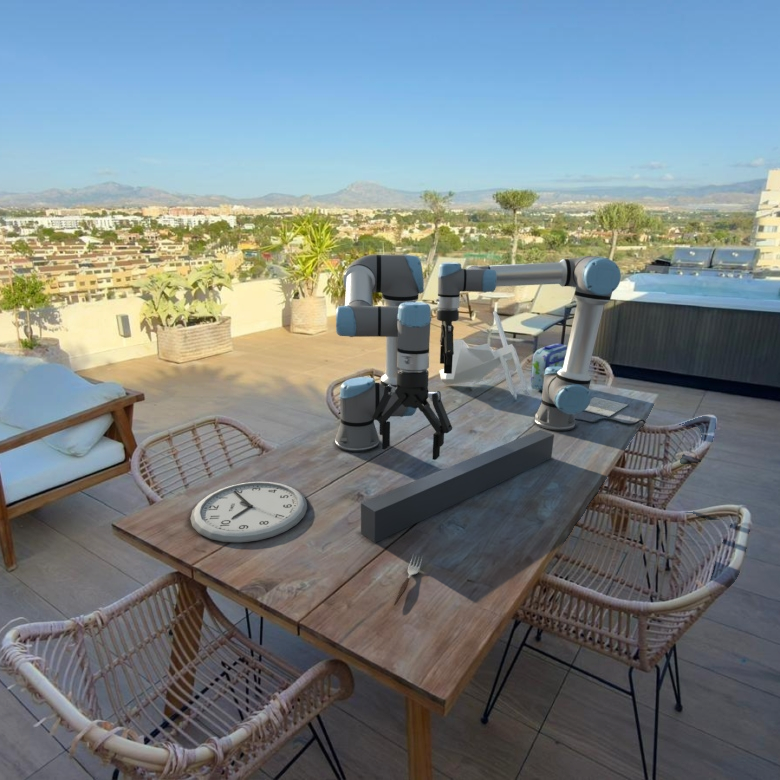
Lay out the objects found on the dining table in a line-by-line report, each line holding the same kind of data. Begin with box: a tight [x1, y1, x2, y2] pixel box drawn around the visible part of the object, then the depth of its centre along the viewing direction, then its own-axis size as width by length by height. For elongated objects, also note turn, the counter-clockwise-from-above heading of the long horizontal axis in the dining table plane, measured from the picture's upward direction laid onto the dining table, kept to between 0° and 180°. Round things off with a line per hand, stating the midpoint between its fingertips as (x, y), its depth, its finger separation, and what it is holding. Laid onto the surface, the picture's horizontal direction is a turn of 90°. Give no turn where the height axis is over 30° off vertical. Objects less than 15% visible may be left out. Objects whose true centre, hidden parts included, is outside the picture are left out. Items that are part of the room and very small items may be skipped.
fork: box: [393, 553, 424, 606], centre depth 112 cm, size 3×16×2 cm, turn 160°
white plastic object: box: [438, 310, 531, 400], centre depth 245 cm, size 37×45×31 cm
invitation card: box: [583, 396, 629, 418], centre depth 226 cm, size 21×1×15 cm
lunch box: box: [530, 343, 568, 391], centre depth 249 cm, size 26×11×21 cm, turn 134°
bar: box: [360, 429, 555, 544], centre depth 151 cm, size 77×5×9 cm, turn 131°
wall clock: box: [190, 481, 308, 544], centre depth 139 cm, size 30×2×30 cm
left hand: (410, 452), depth 129 cm, fingers open, 13 cm apart
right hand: (445, 368), depth 187 cm, fingers open, 13 cm apart
